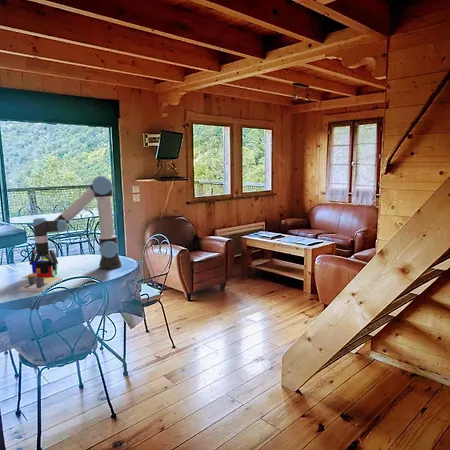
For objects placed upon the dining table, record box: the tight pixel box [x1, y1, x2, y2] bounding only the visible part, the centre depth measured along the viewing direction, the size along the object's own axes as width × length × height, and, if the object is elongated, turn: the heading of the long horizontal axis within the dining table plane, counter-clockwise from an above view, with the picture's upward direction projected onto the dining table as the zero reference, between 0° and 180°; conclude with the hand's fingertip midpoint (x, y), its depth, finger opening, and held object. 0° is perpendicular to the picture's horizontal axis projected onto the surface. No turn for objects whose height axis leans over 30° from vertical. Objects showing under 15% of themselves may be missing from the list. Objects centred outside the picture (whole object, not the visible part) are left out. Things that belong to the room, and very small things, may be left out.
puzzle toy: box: [31, 259, 58, 279], centre depth 249 cm, size 10×10×10 cm
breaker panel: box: [19, 276, 63, 292], centre depth 232 cm, size 14×21×2 cm, turn 174°
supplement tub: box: [40, 248, 58, 270], centre depth 264 cm, size 10×10×15 cm
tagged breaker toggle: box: [27, 273, 37, 284], centre depth 229 cm, size 3×3×5 cm
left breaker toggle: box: [36, 278, 44, 287], centre depth 223 cm, size 3×3×4 cm
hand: (45, 275), depth 250 cm, fingers closed on puzzle toy, 11 cm apart
